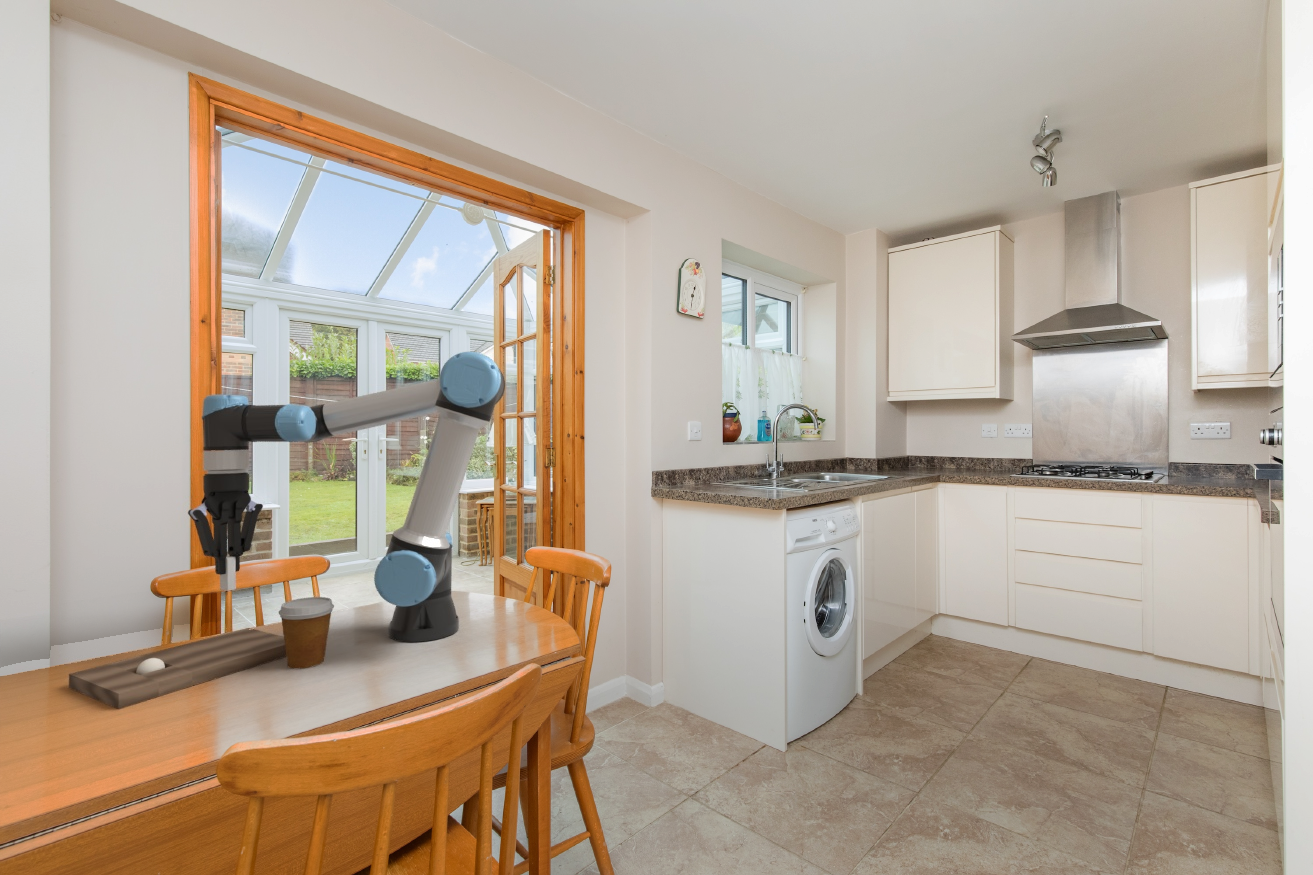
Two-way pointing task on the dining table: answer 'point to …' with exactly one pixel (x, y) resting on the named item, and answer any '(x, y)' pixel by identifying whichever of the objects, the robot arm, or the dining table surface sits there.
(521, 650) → the dining table surface
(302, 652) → the disposable coffee cup
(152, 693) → the hole board
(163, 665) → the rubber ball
